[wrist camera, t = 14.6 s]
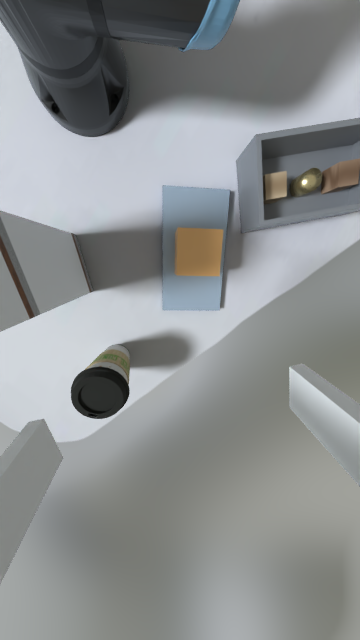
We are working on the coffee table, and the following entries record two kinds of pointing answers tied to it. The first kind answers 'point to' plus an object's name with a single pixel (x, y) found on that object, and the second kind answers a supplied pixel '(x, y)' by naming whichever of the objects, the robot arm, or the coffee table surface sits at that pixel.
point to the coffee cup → (103, 384)
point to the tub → (296, 173)
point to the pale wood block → (274, 187)
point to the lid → (193, 247)
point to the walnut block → (340, 176)
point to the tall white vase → (37, 269)
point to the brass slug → (306, 182)
